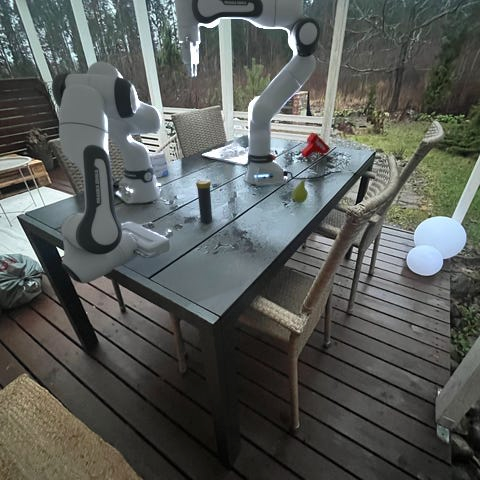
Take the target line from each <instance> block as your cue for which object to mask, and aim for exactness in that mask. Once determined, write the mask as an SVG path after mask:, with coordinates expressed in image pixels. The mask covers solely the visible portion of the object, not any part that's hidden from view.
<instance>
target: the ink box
mask: <svg viewBox="0 0 480 480" xmlns="http://www.w3.org/2000/svg"><path fill="white" fill-rule="evenodd" d="M149 156H150V161H151V165H152V167H153V172H154V174H153V175H155V176H156V179H158V178H162V177H165V176H168V175H169V169H168V163H167V155H166V153H163V152H161V151H160V152H156V153H152V154H151V153H150V154H149Z"/></svg>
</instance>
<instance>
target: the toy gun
mask: <svg viewBox="0 0 480 480" xmlns="http://www.w3.org/2000/svg"><path fill="white" fill-rule="evenodd" d="M306 142H307V143H308V144H307V145H306V146H305V147H304V148H303V149H302V150H301V151H300V153H301V157H303V156H304V157H303V158H305V159H309V157H310V156H311V155H312V154H313V153H314V154H319V155H321V156H323V155H322V154H323V153H327V154H328V153H329V151H330V147H329V145H328V144H326V142H325V141H324V140H323V139H322V138H321V137H320V136H319V135H318V134H317V133H315V132H311V133H310V134H309V135H308V137H307V138H306ZM318 152H319V153H318ZM320 153H322V154H320ZM308 156H309V157H308Z"/></svg>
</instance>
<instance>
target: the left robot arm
mask: <svg viewBox="0 0 480 480" xmlns="http://www.w3.org/2000/svg"><path fill="white" fill-rule="evenodd" d="M87 69H88V70H87V72H86V73H71V72H62V73H58V74H56V75H55V77H54V78H53V80H52V82H51V93H52V97H53V99H54V102H55V103H56V105H57V106H58V107H59V115H58V116H59V117H58V118H59V119H58V136H59V144H60V148H61V152H62V154H63V155H64V157H65V158H66V159H67V160H69V161H70V162H71V163H72V164H74V165H75V166H76V167H77V168H78V169H79V171H80V173H81V175H82V181H83V192H84V193H83V194H84V212H77V213H72V214H70V215H68V216H66V217H65V218H64V220H63V221H62V223H61V225H60V235H61V238H62V242H63V258H62V261H61V266H62V268H63V270H64V272H65V273H66V274H67V275H68V276H69V278H71V279H72V280H73V281H74V282H77V283H80V284H89V283H91V282H94V281H96V280H98V279H100V278H102V277H104V276H106V275H107V274H110V273H111V272H112V271H114V270H115V269H116V268H118V267H121V266H124V265H126V264H128V263H130V262H131V261H133V260H135V259H137V258H138V257H141V258H142V259H145V258H149V259H152V258H156V257H158V256H161V255H163V254H165V253H168V252H169V251H170V249H171V243H170V242H171V241H170V238H172V237H173V236H174V232H173V230H170V229H167V230H166V231H165V234H162V235H161V234H159V233H157V232H155V231H152V230H151V229H154V228H155V223H154V222H153V221H149V222H145V223H144V222H143V223H140V224H138V223H136V222H134V221H126V222H124V223H121V221H120V219H119V217H118V214H117V211H116V204H115V196H116V197H117V198H119V199H120V200H122V201H123V202H124V203H125V204H127V205H133V204H146V203H150V202H151V203H152V202H153V201H156V200H158V199H159V198H160V197H161V192H162V189H161V188H160V187H159V186H162V185H161V183H159V182H158V178H156V176H155V175H153V174H154V172H153V167H152V165H151V161H150V156H149V155H150V152H149V149H148V148H147V146H146V145H144V144H143V143H140V142H138V141H136V140H134V138H133V137H132V136H134V135H135V136H136V135H137V136H138V135H148V134H149V135H150V134H153V133H158V132H159V131H160V129H161V127H162V116H161V113H160V112H159V110H158V108H156V107H155V106H154V105H150V104H147V103H144V102H143V101H140V100H139V98H138V95H137V91H136V87H135V85H134V84H133V83H131V81H130V80H129V79H126V78H124V77H123V75H121V73H120V72H119V71H118V69H117V68H116V67H115V66H114V65H113V64H111V63H110V62H109V63H108V62H106V61H96V62H94V63H92V64H91V65H89V67H88V68H87ZM109 139H110V140H111V141H112V142H113V143H114V145H115V146H116V147H117V149H118V150H119V152H120V155H121V158H122V161H123V165H124V167H123V168H122V172H123V174H124V176H123V177H122V179H121V180H120V181H119V182H118V184H115V183H116V182H117V180H116V178H114V177H113V169H112V163H111V162H112V161H111V158H110V153H109ZM114 187H115V188H118V190H117V191H115V190H114ZM114 191H115V192H114Z"/></svg>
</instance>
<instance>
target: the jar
mask: <svg viewBox="0 0 480 480" xmlns="http://www.w3.org/2000/svg"><path fill="white" fill-rule="evenodd" d="M196 189H197V197H198V209H199V219H200V220H199V221H200V223H202V224H206V225H207V224H210V223H212V222H213V211H212V195H211V186H210V187H208V188H198V187H197V186H196Z"/></svg>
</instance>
